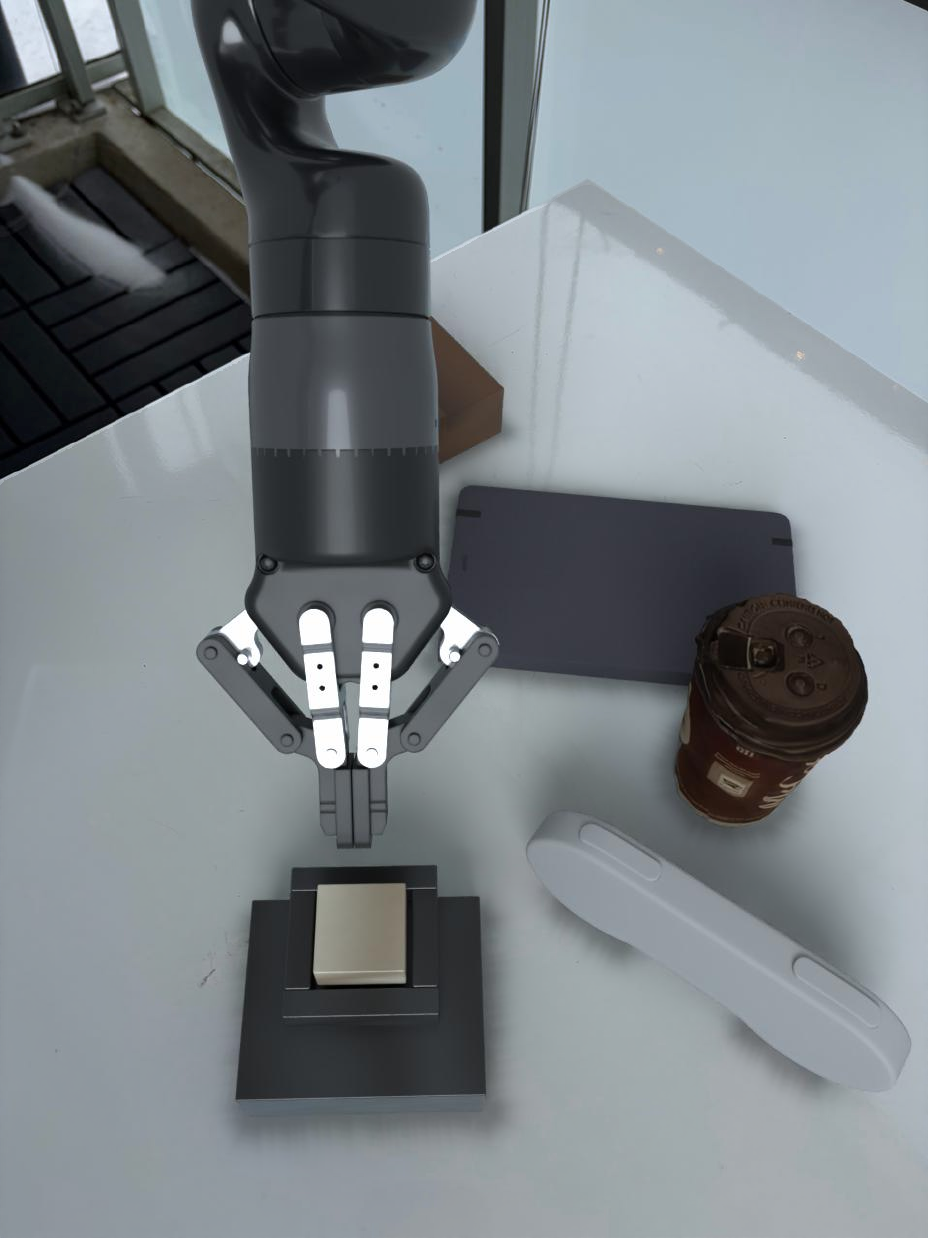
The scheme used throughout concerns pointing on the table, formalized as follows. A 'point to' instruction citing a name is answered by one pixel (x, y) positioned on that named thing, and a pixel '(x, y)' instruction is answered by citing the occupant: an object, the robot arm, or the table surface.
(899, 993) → the table surface
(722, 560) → the notebook
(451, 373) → the key block
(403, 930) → the ivory key
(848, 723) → the coffee cup
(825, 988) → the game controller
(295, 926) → the key block
